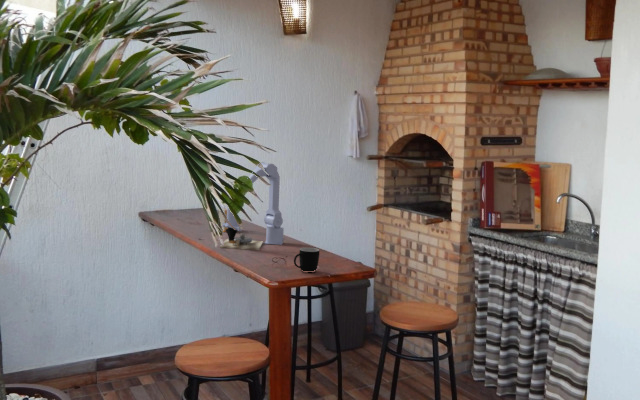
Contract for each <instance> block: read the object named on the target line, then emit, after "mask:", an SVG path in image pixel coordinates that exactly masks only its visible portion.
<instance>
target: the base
mask: <svg viewBox="0 0 640 400" xmlns="http://www.w3.org/2000/svg"><path fill="white" fill-rule="evenodd" d="M239 237H240V238H241V239H245V237H246V234H245V233H241V232H240V235H239ZM222 243H224V246H222V245H221V244H220V245H219V248H220V249H233V250H234V249H235V250H249V251H250V250H251V251H252V250H253V251H260V249H261V247H262V246H263V244H264V241H263V240H252V242H249V243H239V240H236V243H234V244H232V243H229V238H226V239H224V241H223V242H222Z"/></svg>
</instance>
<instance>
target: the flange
mask: <svg viewBox="0 0 640 400" xmlns="http://www.w3.org/2000/svg"><path fill="white" fill-rule="evenodd" d="M236 240H239V243H249V242H252V241H253V238H251V237H247V236H245V239H241V238H240V236H237V237H236V236H235V238H234V240H230V241H229V243H232V244H234V243H236Z"/></svg>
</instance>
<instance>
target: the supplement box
mask: <svg viewBox="0 0 640 400" xmlns="http://www.w3.org/2000/svg"><path fill="white" fill-rule="evenodd" d="M222 209H223V211H224V213H225V214H226V216H227V208H222ZM218 214H219V215H218V216H219V217H218V219H219V218H220V222H221V226H222V224H223V223H227V222H226V221H225V218H224V217H223V215H222V213H221V212H220V210H219V213H218ZM222 229H223V233H227V232H226V229H228V228H227V227H222Z"/></svg>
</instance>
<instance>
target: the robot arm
mask: <svg viewBox="0 0 640 400" xmlns="http://www.w3.org/2000/svg"><path fill="white" fill-rule="evenodd" d="M260 163H261V164H262V165H263V167H264V169H265V171H266V172H267V173H268V174H269V176H268V175H267V174H266V173H265V172H264V171H263V170H262V169H261V168H259V167H258V165H256V166H255V168H254V170H253V171H252V173H253V172H255V173H256V174H258V175H259V176H261V177H260V178H263V177H265V178H267V180H268V184H271V185H272V186H269V185H268V209H267V210H266V211H265V216H264V219H263V220H264V221H263V222H264V223H265V227H266V232H265V233H266V234H265V241H264V242H263V244H264V245H280V246H282V245H283V243H284V240H285V239H284V227H282V225H283V221H284V220H283V217H282V212H281V211H280V210H279V209H280V207H279V206H280V184H281V183H280V179H281V177H280V173H279V171H278V167H277V166H276V165H275V164H273V163H268V162H265V161H264V162H263V161H262V162H260ZM252 173H251V174H250V175H249V176H248V177H249V178H250V179H251V180H252V183H253V184H254V183H255V182H256V181H257V180H258V179H259V178H258V177H256V176H255V175H253V174H252ZM226 209H227V219H228V221H229V222H230V223H231V225H232V226H233V227H234V228H235V229H236V230H234V229H233V228H232V227H231V226H230V225H229V224H228V223H223V224H222V227H227V228H228V229H226V232H225V233H226V234H227V236H228V239H229V241H230V240H234V238H235V237H236V235H237V233H238V232H242V231H243V229H242V230H241V229H240V227H241V226H240V225H239V223H238V224H237V222H236V220H235V218H234V216H233V214H232V213H231V212H230V210H229V208H228V206H227V205H226ZM239 226H240V227H239Z"/></svg>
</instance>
